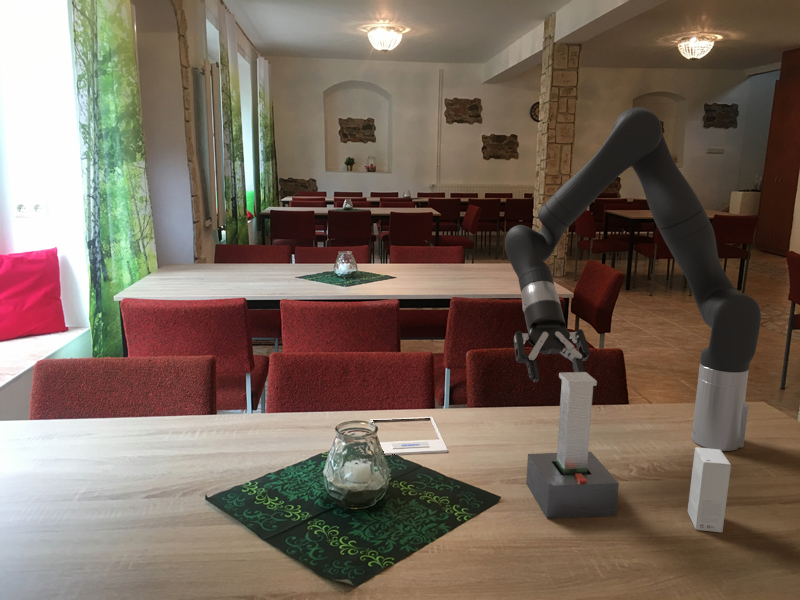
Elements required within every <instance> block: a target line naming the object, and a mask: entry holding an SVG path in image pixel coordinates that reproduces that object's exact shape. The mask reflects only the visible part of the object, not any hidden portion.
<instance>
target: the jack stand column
mask: <svg viewBox="0 0 800 600" xmlns="http://www.w3.org/2000/svg"><path fill="white" fill-rule="evenodd" d="M558 378H559V379H560V380H561V386H560V387H561V390H560V402H559V414H558V415H559V417H558V432H557V433H558V434H557V446H556V447H557V450H556V453H557V458H556V465H557V466H558V467H559V469H560V470H561V471H562V473H563V474H564V475H575V474H580V473H581V474H587V471H588V468H587V461H588V452H589V447H590V445H589V444H590V434H591V433H590V432H591V420H592V406H593V394H594V387H595V386H597V384H598V381H597V380H596V379H595V378H594V377H593V376H591V375H590V374H589V373H588V372H586V371H585V372H574V371H573V372H570V371H569V372H559V373H558Z"/></svg>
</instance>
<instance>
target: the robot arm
mask: <svg viewBox="0 0 800 600" xmlns="http://www.w3.org/2000/svg"><path fill="white" fill-rule="evenodd" d="M631 167H632V169H633V171H634V172H635V174H636V176H637V177H638V179H639V182H640V184H641V186H642V190H643V193H644V195H645V199H646V202H647V206H648V208H649V210H650V213H651V216H652V218H653V220H654V223H655V225H656V227H657V228H658V231H659V233H660V235H661V236H662V238H663V241H664V243H665V244H666V246H667V247H668V250H669V251H670V253H671V255H672V257H673V258H674V260H675V261H676V263H677V266H678V267H679V269H680V270H681V271H682V273H683V275H684V276H685V278H686V280H687V283H688V286H689V288H690V290H691V292H692V295H693V298H694V301H695V303H696V306H697V308H698V311H699V314H700V317H701V319H702V320H703V321H704V323H705V324H706V325H707V326H708V327H709V328H711V331H710V338H709V345H708V346H707V347H706V348H704V349H702V351H701V352H700V360H699V367H698V368H699V369H698V378H697V385H696V386H697V387H696V395H695V403H694V405H695V406H694V413H693V414H694V415H693V420H692V422H693V423H692V430H691V441H693V442H694V444H697V445H698V446H701V447H702V448H709V449H719V450H721V451H722V452H730V451H735V450H738V449H739V448H744V447H745V446H744V445H745V439H746V431H747V423H748V415H749V409H750V407H749V406H750V405H749V403H747V402H746V395H747V387H748V380H749V379H748V378H749V370H750V364H751V361H752V360H753V359H754V357H755V355H756V351H757V345H758V341H759V340H758V339H759V335H760V328H761V320H762V318H761V317H762V316H761V315H762V313H761V307H760V305H759V303H758V302H757V301H756V300H755V299H754V298H753V297H752V296H750V295H748V294H746V293H743V292H741V291H738V289H736V288H735V286H734V284H732V282H731V280H730V279H729V277H728V275H727V274H726V272H725V270H724V268H723V266H722V264H721V262H720V259H719V254H718V246H717V239H716V234H715V230H714V227H713V225H712V223H711V220H710V218H709V217H708V215H707V213H706V210H705V207H704V206H703V204H702V202H701V201H700V199H699V198H698V195H697V194H696V192H695V191H694V190H693V188H692V186H691V185H690V183H689V182H688V180H687V179H686V177H685V176H684V175H683V173H682V172H681V171H680V169H679V168H678V166H677V164H676V163H675V161H674V159H673V156H672V154H671V152H670V150H669V147H668V144H667V141H666V139H665V137H664V134H663V126H662V122H661V120H660V118H659V117H658V115H657V114H656V113H655V112H653V111H652V110H651V109H648V108H646V107H642V106H641V107H640V106H639V107H637V106H636V107H631V108H628V109H626V110H624V111H623V112H622V113H620V115H618V116H617V118H616V120H615V121H614V123H613V126H612V130H611V132H610V133H609V135H608V137H607V138H606V139H605V141H604V142H603V144H602V145H601V146H600V148H599V149H598V151H597V152H596V153H595V154H594V156H593V157H592V158H591V159H590V160H589V161H588V162H586V163H585V165H584V166H583V167H582V168H581V169H579V170H578V172H576V173H575V174H574V175H572V176H571V178H569V179H568V180H567V181H566V182H565V183H564V184H562V186H561V187H559V189H557V191H556V192H555V193H554V194H553V195H552V196H551V197H550V198H549V199H548V200H547V201H546V203H544V204H543V206H541V207H540V209H539V210H538V212H537V218H538V219H539V221H540V223H541V224H542V226H541V228H540V230H539V231H536V230H534V229H532V228H531V227H529V226H527V225H524V224H518V225H515V226H513V227H511V228H510V229H509V230H508V232H507V233H506V236H505V239H504V249H505V250H504V251H505V253H506V254H505V255H506V256H507V258H508V260H509V262H510V266H511V267H512V270H513V271H514V272H515V274H516V276H517V279H518V283H519V285H518V286H519V289H520V294H521V303H522V311H523V314H524V319H525V323H526V329H527V332H528V333H524V332H522V331H521V330H517V331H515V334H514V336H513V345H514V354H515V360H516V362H517V363H518V364H521V363H522V364H525V365H526V367H527V372H528V378H529V379H530V380H532V382H533V383H538V382H539V380H540V372H539V368H538V362H537V360H535V359H536V358H537V357H538V354H539V353H541V354H542V355H549V354H553V355H558V354H561V356H562V357H564V358H565V359H568V360H569V361H571V362H572V369H573V372H586V371H585V370H586V369H585V367H584V366H585V365H584V362H586V361H587V360H588V358H589V357H590V355H591V350H590V347H589V345H588V341H587V338H586V335H585V332H584V330H583V329H581V328H579V329H577V330H576V331H568V329H567V327H566V321H565V318H564V317H565V316H564V314H563V309H562V305H561V301H560V297H559V294H558V290H557V289H556V286H555V283H554V279H553V273H552V271H551V268H550V267H549V265H548V264H547V263H546V262H545V261H546V260H548V259H549V258H550V256H551V255H552V254H553V252H554V251H555V248H556V247H557V245H558V244H559V242H560V241H561V239H562V237H563V235H564V233H565V231H566V230H567V229H568V228H569V227H570V226H572V224H573V223H574V222H576V220H577V219H578V218H579V217H581V215H582V214H583V213H584V212H585V211H586V210H587V209H588V208H589V207H590V205H592V203H593V202H594V201H595V200H596V199H597V198H598V197H599V195H601V194H602V192H604V190H606V189H607V188H608V186H610V184H611V183H613V182H614V181H615V180H616V179H617V178H618V177H619V176H620V175H621V174H623V173H624V172H625V171H626V170H628V169H629V168H631ZM569 340H571V341H572V342H573V343H572V342H570V341H569ZM526 341H528V342H529V344H531V345H532V346H533V349H531V351H530V353H529V354H526V353H525V352H526V351H525V343H526ZM574 344H575V345H576V348H575V345H574Z"/></svg>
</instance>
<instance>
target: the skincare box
mask: <svg viewBox="0 0 800 600" xmlns="http://www.w3.org/2000/svg"><path fill="white" fill-rule="evenodd" d="M731 469H732V464H731V463H730V461H729V460H728V458H727V456H725V454H724V453H723V451H721V450H719V449H709V448H705V447H698V446H697V447H695V448H694V454H693V462H692V469H691V470H692V471H691V479H690V488H689V496H688V505H687V513H688V516H689V517H690V520H691V522H692V524H693V526H694V529H695V531H696V530H697V531H706V532H713V533H723V530H724V526H725V525H724V523H725V517H726V516H725V515H726V507H727V501H728V492H729V483H730V476H731Z"/></svg>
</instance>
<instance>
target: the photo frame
mask: <svg viewBox="0 0 800 600" xmlns="http://www.w3.org/2000/svg"><path fill="white" fill-rule="evenodd" d="M414 418H430V419H429V420H430V423H431V422H432V424H431V425H433V426H432V428H433V427H434V428H433V430H434V429H435V430H434V432H435V434H437V435H436V437H437V438H438V439H437V438H436V439H422V440H421V439H420V440H419V439H418V440H400V441H399V440H398V441H397V440H396V441H380V444H381V447H382V449H383V451H384V454H385V455H384V456H398V455H399V456H400V455H401V456H402V455H417V454H418V455H420V454H421V455H422V454H423V455H424V454H440V453H448V451H449V449H448V448H447V445H446V443H445V441H444V439H443V437H442V434H441V433H440V429H438V425H437V424H436V422H435V420H434V418H433V416H416V417H412V416H411V417H395V418H393V417H391V418H374V419H373V418H369V423H370V422H373V423H374V421H373V420H390V421H393V420H392V419H414ZM370 420H372V421H370ZM392 454H393V455H392ZM394 454H395V455H394Z"/></svg>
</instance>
